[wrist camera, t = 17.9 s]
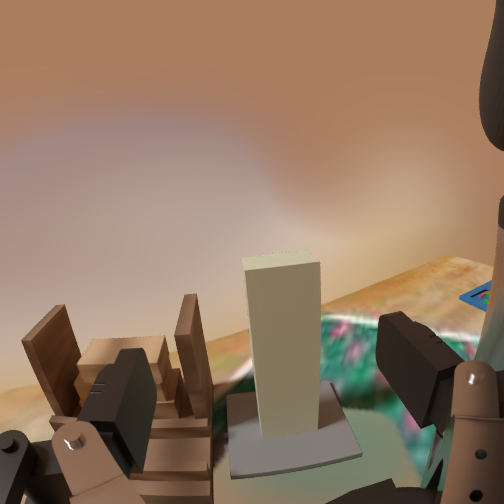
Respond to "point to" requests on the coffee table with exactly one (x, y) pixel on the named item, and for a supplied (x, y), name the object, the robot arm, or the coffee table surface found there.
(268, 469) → the grey mat
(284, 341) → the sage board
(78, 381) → the oak offcut stack
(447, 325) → the coffee table surface
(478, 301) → the handheld gaming device
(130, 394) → the robot arm
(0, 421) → the coffee table surface
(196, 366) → the walnut rack
